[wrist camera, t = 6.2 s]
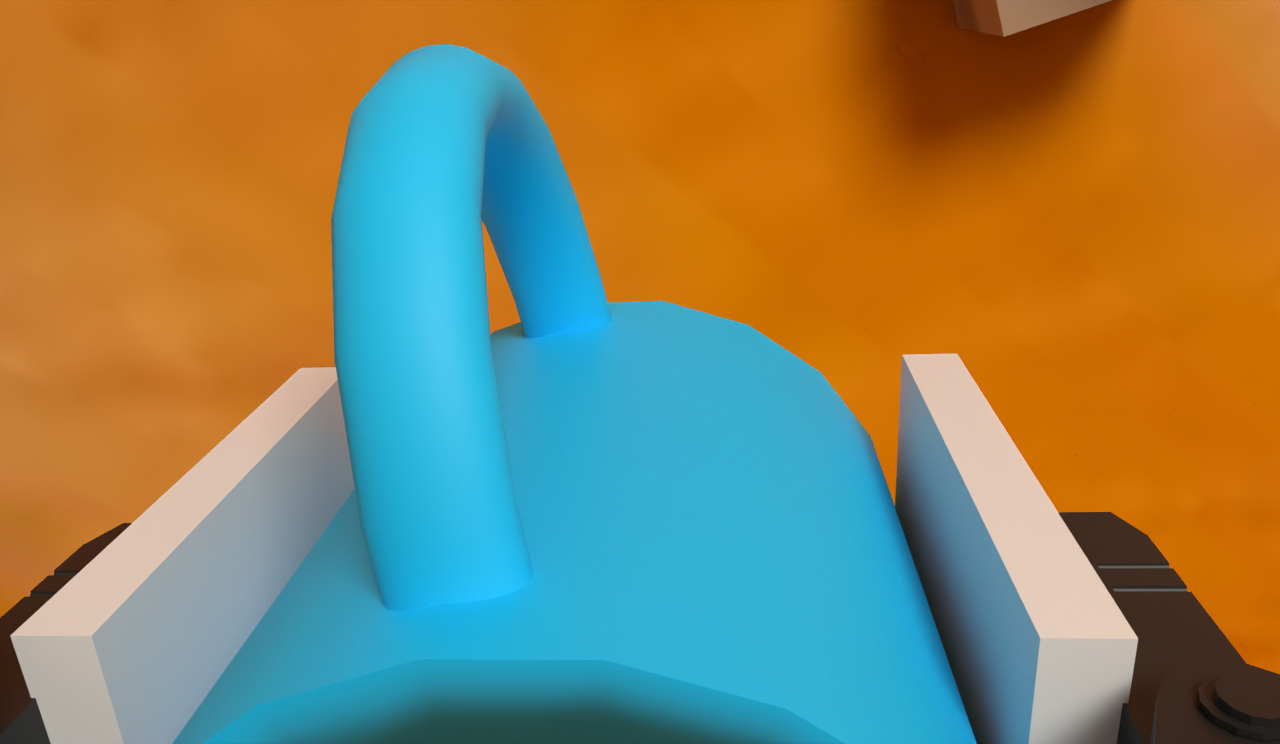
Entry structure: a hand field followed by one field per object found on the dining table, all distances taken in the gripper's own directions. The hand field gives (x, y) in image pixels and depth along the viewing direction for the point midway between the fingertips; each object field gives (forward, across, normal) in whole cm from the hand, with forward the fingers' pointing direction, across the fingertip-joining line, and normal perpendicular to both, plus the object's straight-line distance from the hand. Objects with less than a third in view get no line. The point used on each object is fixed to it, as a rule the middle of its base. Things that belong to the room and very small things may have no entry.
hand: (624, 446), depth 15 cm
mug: (+1, 0, 0) cm, 1 cm away
